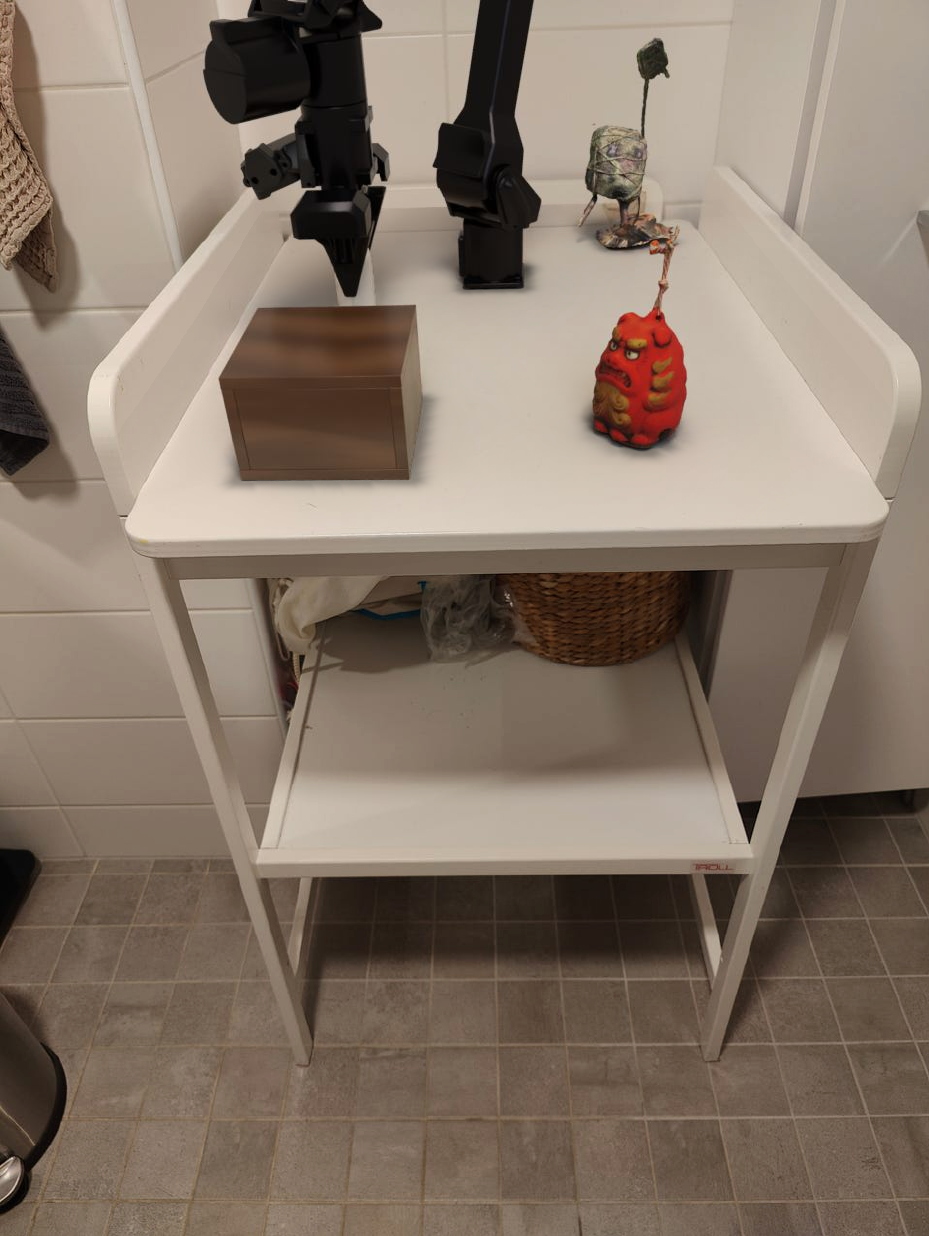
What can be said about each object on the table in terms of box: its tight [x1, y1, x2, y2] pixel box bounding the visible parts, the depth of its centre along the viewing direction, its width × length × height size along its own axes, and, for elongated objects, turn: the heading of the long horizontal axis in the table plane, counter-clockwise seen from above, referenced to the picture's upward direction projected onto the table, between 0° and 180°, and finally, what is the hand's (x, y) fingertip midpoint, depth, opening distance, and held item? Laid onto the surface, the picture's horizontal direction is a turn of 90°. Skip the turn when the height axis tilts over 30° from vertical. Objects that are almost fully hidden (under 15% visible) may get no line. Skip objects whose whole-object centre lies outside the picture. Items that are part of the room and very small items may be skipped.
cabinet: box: [217, 304, 423, 481], centre depth 71 cm, size 13×13×8 cm
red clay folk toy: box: [591, 224, 688, 449], centre depth 68 cm, size 8×7×15 cm
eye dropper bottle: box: [333, 248, 378, 306], centre depth 86 cm, size 4×6×12 cm
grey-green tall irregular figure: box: [577, 36, 675, 249], centre depth 101 cm, size 8×11×20 cm
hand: (355, 284), depth 87 cm, fingers closed on eye dropper bottle, 5 cm apart
